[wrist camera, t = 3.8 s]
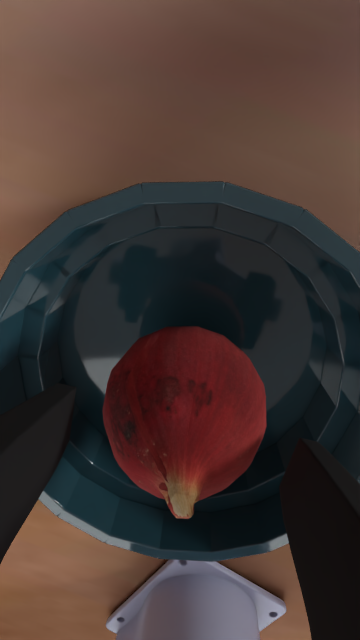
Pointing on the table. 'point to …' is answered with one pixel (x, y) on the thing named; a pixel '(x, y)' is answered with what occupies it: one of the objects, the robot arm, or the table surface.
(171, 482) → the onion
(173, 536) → the bowl
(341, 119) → the table surface
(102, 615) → the table surface
